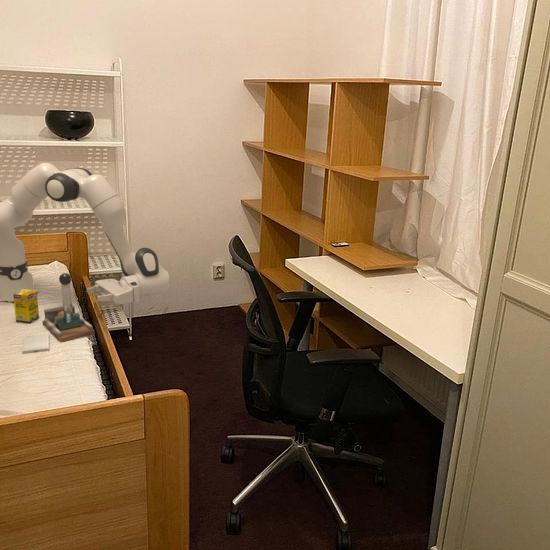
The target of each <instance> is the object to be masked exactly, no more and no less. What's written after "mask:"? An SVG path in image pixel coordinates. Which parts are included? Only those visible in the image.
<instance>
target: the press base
mask: <svg viewBox="0 0 550 550" xmlns="http://www.w3.org/2000/svg"><path fill="white" fill-rule="evenodd" d="M72 310H73V313H76V309H75V306H74V305H73V304H72ZM43 313H44V320H42V326H43V327H45V328H46V330H47V331H49V333H50V334H51V335H52V336H53V337H54V338H55V339H56V340H57V341H58V342H59V343H63V342H68V341H73V340H77V339H81V338H85V337H86V338H87V337H90V336H94V335H95V334H96V333H95V332H96V331H95V329H94V328H93V327H94V326H93V325H92V324H90V323H89V322H88V321H87V320H86V319H85V318H83V317H82V316H81V315H80V319H81V320H82V326H78V327H73V328H69V329H64V330H59V329H58V328H56V327H55V322H54V317H57V316H62V315H64V312H63V305H62V306H57V307H51V308H47V309H46V308H45V309H44V310H43Z"/></svg>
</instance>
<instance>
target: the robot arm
mask: <svg viewBox="0 0 550 550" xmlns="http://www.w3.org/2000/svg"><path fill="white" fill-rule="evenodd" d="M48 197H49V199H51V200H53V201H54V202H57V203H64V202H65V203H66V202H70V201H73V200H77V199H78V198H80V199H83V200H84V201H85V202H86V203H87V204H88V206H89V208H90V209H91V211H92V212H93V214H94V215H95V217H96V218H97V220H98V222H99V223H100V226H102V229H103V231H104V233H105V235H106V237H107V240H108V241H109V243H110V245H111V247H112V248H113V250H114V252H115V254H116V256H117V257H118V260H119V263H120V269H121V271H122V274H123V275H124V276H121V278H120V280H117V279H115V278H105V279H98V280H96V281H94V285H93V286H92V287H88V288H86V293H87V294H88V295H91V294H94V293H96V292H97V293H100V294H98V295H96V300H97V301H98V302H103V301H104V302H107V301H108V302H110V301H111V302H112V303H113V304H116V305H125V304H131V303H134V304H136V303H140V299H141V298H142V297H145V296H147V297H148V296H149V297H150V296H154V295H159V294H162V293H164V292H166V291H167V290H168V288H169V287H170V284H171V277H170V274H169V272H168V271H167V270H166V269H165V268H164V267H163V265H161V263H160V261H159V259H158V255H157V253H156V252H155V251H154V250H153V249H152V248H149V247H142V248H139V249H138V250H136V251H135V250H134V249H133V247H132V245H131V244H130V243H131V242H129V240H128V238H127V237H126V234H125V232H124V221H125V218H126V214H127V210H126V207H125V203H124V202H123V201H122V199H121V197H120V196H119V194H118V193H117V191H116V190H115V188H114V187H113V186H112V185H111V183H110V182H109V181H108V179H106V177H104V176H103V175H101V174H99V173H97V174H96V173H95V174H93V173H92V172H91V171H90V170H89V169H86V168H84V167H72V168H66V169H65V170H60V169H58V168H57V166H55V165H54V164H52V163H50V162H42V163H39V164H38V165H36V166H35V167H33V168H32V169H31V170H29V171H28V172H27V173H26V174H24V175H23V177H22V178H20V179H19V181H17V183H15V184H14V185H13V186H12V188H11V190H10V196H9V197H8V198H7V199H5V200H2V201H0V300H1V301H0V302H4V301H8V303H9V302H14V297H13V294H14V293H17V292H19V291H21V290H22V289H27V290H36V291H37V292H38V293H40V291H39V289H38V288H35V285H34V279H33V274H32V273H31V272H29V269H28V268H29V267H28V266H29V265H28V261H27V260H26V253H25V252H26V251H25V245H24V242H23V241H22V240H20V239H19V238H17V236H16V233H15V229H16V228H19V227H21V226H23V225H25V224H27V223H28V222H29V221H30V220H31V219H32V218H33V215H34V211H35V209H37V208H38V207H39V206H40V204H42V202H43V201H45V200H46V199H47V198H48Z"/></svg>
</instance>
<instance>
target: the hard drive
mask: <svg viewBox="0 0 550 550" xmlns="http://www.w3.org/2000/svg"><path fill="white" fill-rule="evenodd" d="M50 343H51V342H50V334H49V333H41V334H40V333H39V334H34V335H24V336H23V341H22V355H25V354H35V353H41V352H43V353H45V352H50V351H49V350H50V348H51V347H50V346H51V345H50Z"/></svg>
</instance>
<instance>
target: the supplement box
mask: <svg viewBox="0 0 550 550" xmlns="http://www.w3.org/2000/svg"><path fill="white" fill-rule="evenodd" d="M13 297H14V301H13V304H14V305H13V306H14V315H15V322H17V323H23V324H31V323H33V322H35V321H36V320H38V319H39V318H40V313H39V312H40V311H39V302H38V293H37V291H36V290H27V289H22V290H21V291H19V292H17V293H14V294H13Z"/></svg>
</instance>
